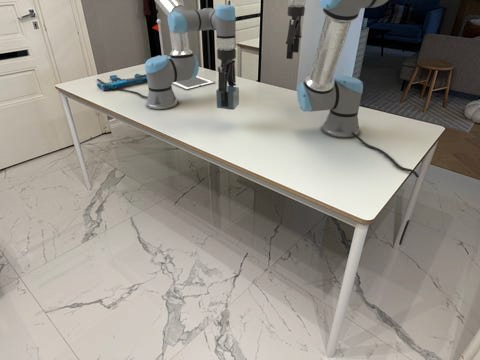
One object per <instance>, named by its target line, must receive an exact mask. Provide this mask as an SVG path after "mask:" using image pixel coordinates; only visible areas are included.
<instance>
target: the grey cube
mask: <svg viewBox="0 0 480 360" xmlns="http://www.w3.org/2000/svg"><path fill="white" fill-rule="evenodd" d="M226 92H227V93H228V107H222V106H221V92H219V91H218V89H216V90H215V94H216V96H215V97H216V108H217V109H223V110H224V109H225V110H232V111H234V110H235V109H236V108H237V107H239V105H240V88H239V86H234V87H231V86H229V85H227V91H226Z"/></svg>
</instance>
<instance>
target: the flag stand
mask: <svg viewBox="0 0 480 360" xmlns="http://www.w3.org/2000/svg"><path fill="white" fill-rule="evenodd" d="M156 23H157V24H155V25H154V26H153V27H151V28H152V29H154V30H156V31H157V32H158V33H159V42H160V50H161V55H158V56H167V57H168V58H169V59H170V55H169V56H168V55H167V54H165V50H164V42H163V34H162V25H161V23H162V19H160V18H158V19H157V20H156Z"/></svg>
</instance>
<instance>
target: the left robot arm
mask: <svg viewBox="0 0 480 360" xmlns="http://www.w3.org/2000/svg"><path fill="white" fill-rule="evenodd" d="M154 2H155V3H156V4H157V6H159V8H160V9H161V10H162V12H163V13H164V14H165V16H166V17H167V25H168V30H169V36H170V44H171V51H170V53H169V56H170V59H169V58H168V57H169V56H168V55H167V56H162V55H160V56H159V55H156V56H153V57H150V58H149V59H147V60H146V61H145V64H144V66H145V70H144V71H145V74H146V75H147V81H146V82H147V87H148V94H147V96H146V95H143V94H141V93H140V92H138V91H134V90H129V89H124V88H120V87H117V88H116V89H115V90H119V91H123V92H128V93H132V94H135V95H139V96H140V97H141V98H143V99H146V105H147V108H149V109H151V110H167V109H171V108H173V107H176V106H177V105H178V100H177V96H176V94H175V93H174V90H173V84H172V83H173V82H178V81H184V80H189V79H193V78H195V77H196V76H198V74H199V70H200V64H199V60H198V57H197V56H196V55H194V52H193V51H192V50H191V49H190V43H189V42H190V41H189V34H188V33H192V32H200V31H211V30H212V31H215V32H216V39H215V41H216V47H217V50H216V56H217V59H218V60H220V66H218V67H217V72H218V78H217V79H218V81H217V82H218V85H217V86H218V87H217V88H218V89H217V90H218V91H219V92H221V106H222V107H228V93H227V92H226V91H227V86H231V87H237V83H236V82H237V80H236V79H237V78H236V60H235V59H236V58H237V49H236V47H237V37H236V35H237V34H236V31H237V29H236V28H237V27H236V19H237V17H236V8H235V6H234V5H232V4H218V5H216V6H215V8H212V7H205V8H202V9H192V10H188V9H187V8H186V7H185V0H154ZM96 80H97V81H98V82H99V83H105V82H104V81H102V80H101V79H99V78H97V79H96Z"/></svg>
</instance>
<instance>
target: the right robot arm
mask: <svg viewBox="0 0 480 360" xmlns="http://www.w3.org/2000/svg"><path fill="white" fill-rule="evenodd" d="M287 1H288V4H287V5H288V7H287V16H288V17H291V19H289V24H288V31H287V35H286V41H285V44H286V45H287V46H286V59H287V60H293V57H294V53H299V49H300V39H302V26H301V25H302V17H304V16H305V12H306V10H305V9H306V7H305V6H306V1H307V0H287ZM387 2H389V0H319V3H320V6H321V8H322V12H323V14H324V16H325V18H324V22H323V26H322V29H321V33H320V36H319V41H318V43H317V48H316V52H315V56H314V59H313V63H312V67H311V71H310V73H308V74H307V75H306V76H305V78H304V82H303V81H301V82H299V83H298V84H297V88H296V97H297V102H298V106H299V108H300V109H301V111H303V112H320V111H329V112H328V115H327V117H326V120H325V121H324V123H323V126H322V130H323V132H324V133H325V134H326V135H329V136H332V137H335V138H339V139H341V138H342V139H349V138H354V137H355V138H356V139H357V140H358V141H360V143H362V144H363V145H364V146H366V147H368V148H370V149H372V150H375V151H377V152H379V153H381V154H383V155H384V156H385V157H387V159H388V160H390V161H391V162H392V164H394V166H396V167H397V168H398V169H400V170H401V171H405V172H410V173H411V174H413V175H415V177H416V178H420V176H419V174H418V173H417V172H416V170H414V169H412V168H408V167H403V166H401V165H399V163H398V162H397V161H396V160H395V159H394V158H392V157H391V156H390V155H389V154H388V153H387V152H385V151H384V150H383V149H381V148H379V147H376V146H373V145H370V144H368V143H367V142H365V141H364V140H363V139H362V138H361V137H360V136H359V132H360V125H359V118H358V117H359V116H358V114H359V111H360V110H359V109H360V105H361V100H362V95H363V90H364V83H363V81H362V80H360V79H359V78H356V77H353V76H349V75H340V74H339V75H336V76H335V77H334V75H335V71H336V69H337V66H338V63H339V60H340V57H341V55H342V52H343V47H344V45H345V42H346V39H347V36H348V33H349V29H350V27H351V23H352V22H353V21H355V20H357V19H358V17H359V15H360V11H361V9H372V8H377V7H378V8H379V7H381V6H383V5H384V4H386V3H387ZM333 77H334V78H333ZM410 222H411V219H408V220H406V223H405V225H404V227H403V230H402V232H401V236H400V239H399V242H398V244H399V245H400V246H402V243H403V240H404V237H405V235H406V233H407V229H408V226H409V224H410Z"/></svg>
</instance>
